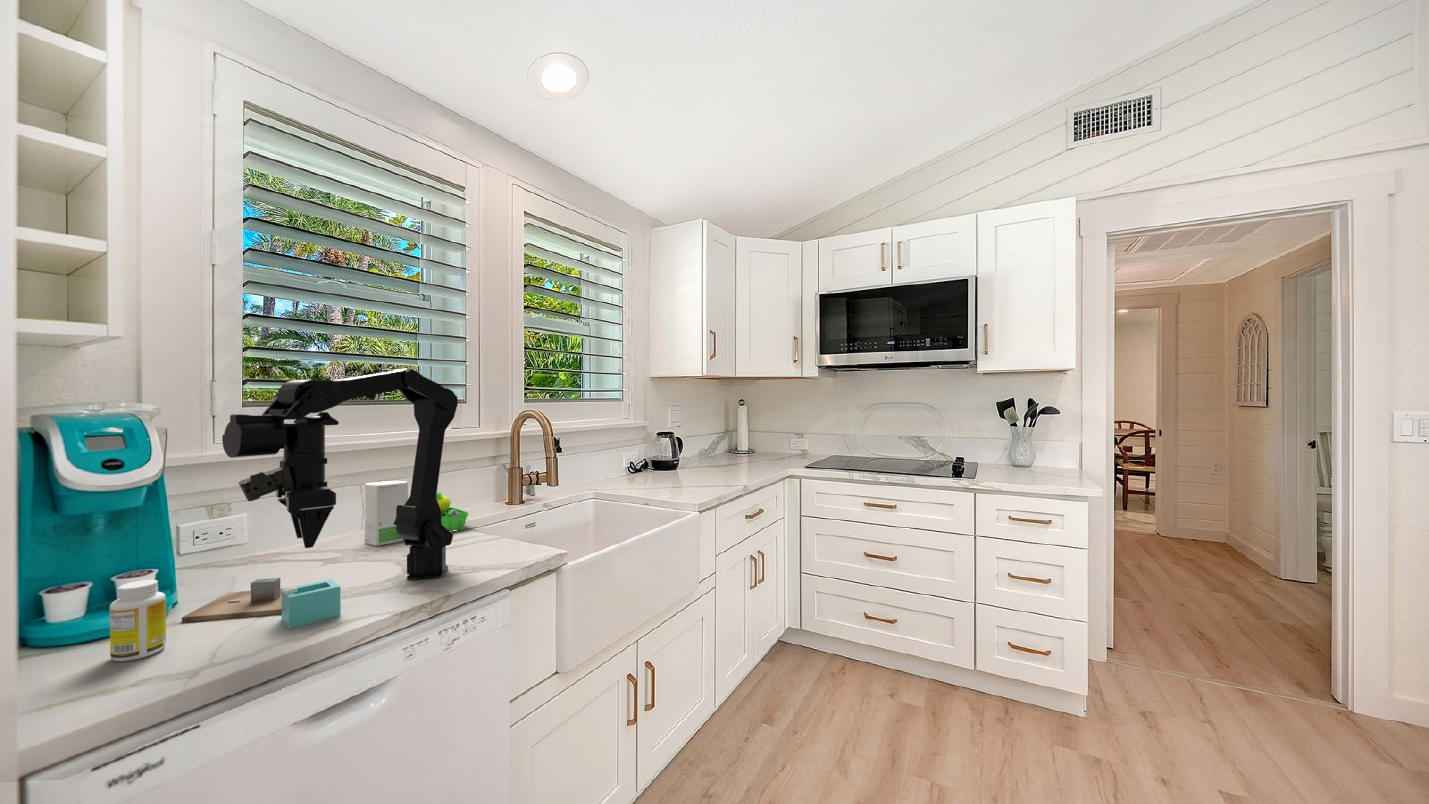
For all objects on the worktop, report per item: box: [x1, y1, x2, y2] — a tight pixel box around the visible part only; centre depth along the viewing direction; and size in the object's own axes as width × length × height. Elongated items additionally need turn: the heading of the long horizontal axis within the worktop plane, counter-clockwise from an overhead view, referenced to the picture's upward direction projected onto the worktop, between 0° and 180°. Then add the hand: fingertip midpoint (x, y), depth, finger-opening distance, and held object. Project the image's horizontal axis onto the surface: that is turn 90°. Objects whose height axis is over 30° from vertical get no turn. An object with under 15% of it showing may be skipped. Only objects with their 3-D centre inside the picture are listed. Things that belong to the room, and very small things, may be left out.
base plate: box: [181, 587, 288, 623], centre depth 97 cm, size 18×12×1 cm, turn 104°
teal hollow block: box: [281, 579, 342, 629], centre depth 91 cm, size 7×6×6 cm
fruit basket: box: [436, 491, 469, 531], centre depth 153 cm, size 11×9×11 cm
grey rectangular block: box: [250, 577, 281, 602], centre depth 97 cm, size 4×2×4 cm, turn 104°
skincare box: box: [364, 480, 409, 547], centre depth 140 cm, size 8×7×16 cm
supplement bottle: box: [109, 579, 167, 662], centre depth 78 cm, size 6×6×10 cm
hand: (304, 542), depth 93 cm, fingers open, 9 cm apart
